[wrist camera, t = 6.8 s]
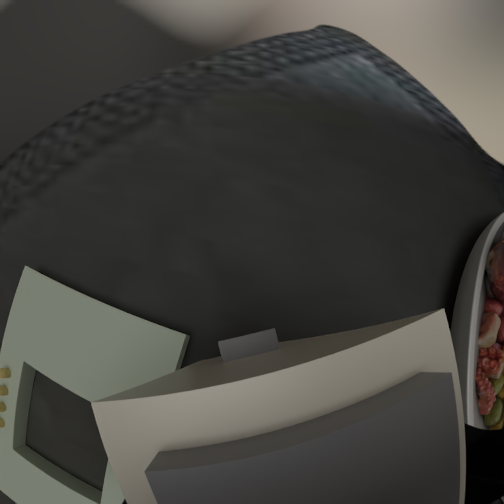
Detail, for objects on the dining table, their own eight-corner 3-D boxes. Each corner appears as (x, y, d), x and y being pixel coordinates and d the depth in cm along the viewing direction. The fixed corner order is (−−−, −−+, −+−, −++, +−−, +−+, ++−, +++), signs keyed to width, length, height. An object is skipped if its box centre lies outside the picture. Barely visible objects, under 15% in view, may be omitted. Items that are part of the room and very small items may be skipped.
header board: (131, 553, 12) (122, 571, 9) (4, 478, 12) (-15, 486, 9) (190, 335, 19) (183, 333, 16) (38, 272, 19) (16, 261, 16)
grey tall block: (299, 416, 14) (479, 542, 1) (220, 436, 13) (207, 641, 1) (277, 331, 16) (458, 252, 3) (197, 350, 15) (51, 349, 2)
